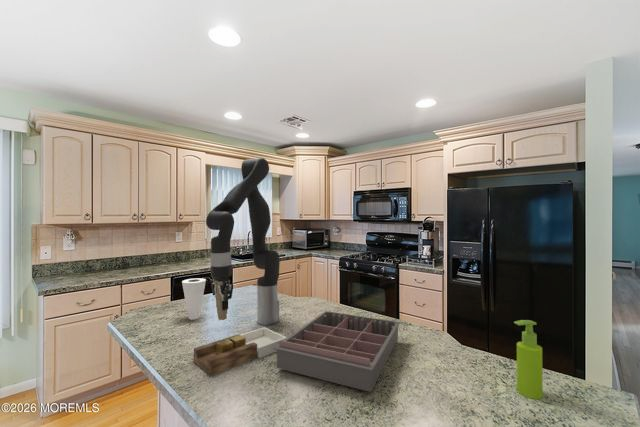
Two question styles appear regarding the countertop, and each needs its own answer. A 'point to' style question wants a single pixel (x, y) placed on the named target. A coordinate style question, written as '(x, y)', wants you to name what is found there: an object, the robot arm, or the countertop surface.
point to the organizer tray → (340, 349)
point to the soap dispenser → (529, 363)
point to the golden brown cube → (238, 341)
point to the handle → (220, 301)
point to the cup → (193, 296)
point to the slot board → (223, 357)
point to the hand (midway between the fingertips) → (222, 308)
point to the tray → (264, 340)
